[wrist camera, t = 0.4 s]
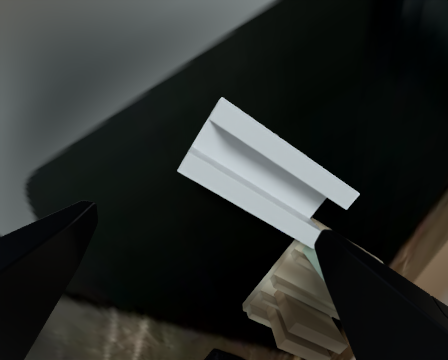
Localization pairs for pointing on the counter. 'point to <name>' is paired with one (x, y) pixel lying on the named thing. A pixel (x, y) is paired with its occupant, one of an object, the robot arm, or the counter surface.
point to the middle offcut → (309, 323)
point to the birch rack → (291, 284)
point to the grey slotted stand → (262, 173)
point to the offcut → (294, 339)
